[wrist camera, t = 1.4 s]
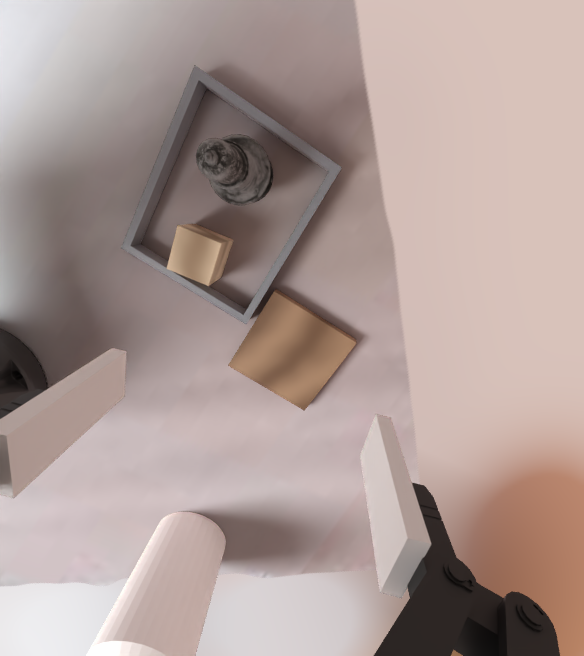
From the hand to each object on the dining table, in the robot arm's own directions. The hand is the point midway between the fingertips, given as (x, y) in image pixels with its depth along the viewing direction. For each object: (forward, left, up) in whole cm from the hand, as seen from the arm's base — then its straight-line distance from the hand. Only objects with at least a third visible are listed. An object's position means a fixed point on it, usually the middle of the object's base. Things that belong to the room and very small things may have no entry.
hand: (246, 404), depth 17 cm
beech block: (-10, 0, -22) cm, 24 cm away
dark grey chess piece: (-10, +9, -22) cm, 26 cm away
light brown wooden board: (+4, -5, -22) cm, 22 cm away
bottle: (+8, -42, -22) cm, 48 cm away
